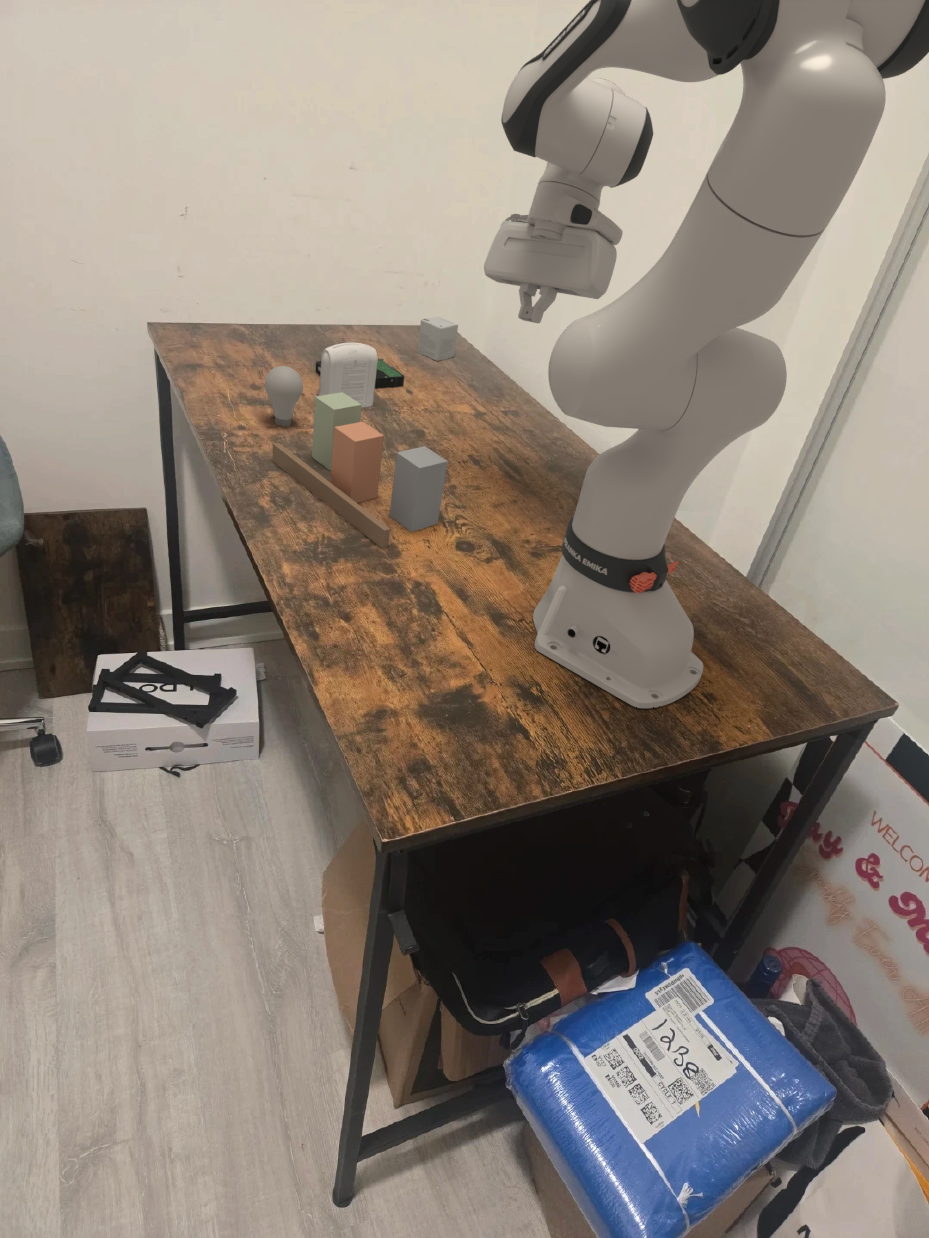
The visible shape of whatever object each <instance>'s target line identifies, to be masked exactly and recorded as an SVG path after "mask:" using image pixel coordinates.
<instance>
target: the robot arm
mask: <svg viewBox="0 0 929 1238" xmlns="http://www.w3.org/2000/svg"><path fill="white" fill-rule="evenodd" d="M928 54H929V0H589V1H588V2H587V3H586V4H585V5H584V6H583V7H581V10H579V12H578V13H577V14H576V15H575V16H573V18H572V19H571V20H570V21H569V23H567V25H566V26H565V27H564V28H563V29H562V30H561V31H560V32H559V33H558V35H557V36H556V37H555V38H554V39H553V40H552V41H550V43H549V44H548V45H547V46H546V47H545V48H544V49H543V50H542V51H541V52H540V53H539V54H538V55H536V56H534V57H532V58H531V59H530V60H528V61H527V62H526V63H524V64H523V66H522V67H520V69H519V71H518V72H517V74H516V75H515V76H514V78H513V80H512V81H511V83H510V85H509V87H508V90H507V93H506V94H505V98H504V102H503V107H502V114H501V120H500V121H501V125H502V128H503V131H504V134H505V135H506V138H507V140H508V142H509V145H510V146H511V148H512V150H513V152H517V153H519V154H520V153H521V154H523V155H527V156H530V157H531V158H538V159H540V160H542V161H545V162H546V166H545V170H544V172H543V174H542V176H541V177H540V179H539V181H538V183H537V186H536V189H535V192H534V195H533V199H532V203H531V206H530V208H529V212H528V214H520V213H511V215H510V216H509V217H507V218H506V219H504V220H503V221H502V222H501V224H500V227H499V229H498V231H497V233H496V235H495V236H494V238H493V241H492V243H491V245H490V248H489V250H488V252H487V256H486V258H485V261H484V264H483V270H484V275H485V276H486V277H487V278H489V279H490V280H493V281H495V282H497V283H500V284H504V285H505V284H506V285H512V286H518V287H519V289H518V295H519V302H520V307H519V308H520V309H519V311H518V314H517V315H518V319H520V320H521V321H524V322H529V323H535V324H540V323H542V319H543V316H544V313H545V312H546V311H547V310H548V309H549V307H551V305H552V304H553V303H555V301H556V298H557V295H558V293H559V294H564V295H570V296H576V297H583V298H588V299H593V300H599V299H600V298H601V297H603V296H604V295H605V294H606V292H607V291H608V288H609V286H610V282H611V281H612V277H613V273H614V269H615V265H616V263H617V257H618V256H617V255H618V254H617V252H618V251H617V248H616V246H617V245H619V243H620V242H621V241H622V238H623V230H622V228H620V226H618V225H617V224H616V223H615V222H614V220H612V219H611V218H610V217H607V215H606V214H604V213H602V212H601V211H600V210H599V208H600V204H601V196H602V195H601V194H602V191H603V188H604V187H608V188H611V189H612V188H616V187H619V186H621V185H624V184H626V183H628V182H630V181H633V180H634V179H636V178H637V177H638V176H639V174H640V173H641V171H642V169H643V167H644V163H645V161H646V158H647V156H648V153H649V149H650V147H651V144H652V140H653V137H654V128H653V122H652V118H651V115H650V112H649V109H648V108H647V107H646V106H645V105H644V104H643V103H641V102H640V101H638V100H636V99H634V98H633V97H631V96H629V95H626V93H625V92H624V90H623V89H622V88H621V87H620V86H618V85H617V84H616V83H615V82H613V81H612V80H611V81H610V80H608V79H605V78H599V77H590V78H589V76H590V75H591V74H592V73H594V72H596V71H597V70H600V69H606V68H615V69H616V68H618V69H626V70H627V69H628V70H631V71H638V72H642V73H646V74H649V75H653V76H656V77H661V78H664V79H667V80H672V81H675V82H676V81H677V82H682V83H699V82H700V83H701V82H704V81H707V80H708V81H709V80H711V79H713V78H716V77H718V76H722V75H725V74H727V73H729V72H731V71H733V70H734V69H735V68H737V66H738V65H740V67H741V71H742V78H743V79H742V83H743V86H742V88H743V89H742V94H741V95H742V96H741V99H740V104H739V107H738V110H737V113H736V114H735V117H734V118H733V121H732V124H731V126H730V127H729V130H728V131H727V133H726V135H725V137H724V139H723V140H722V142H721V144H720V147H719V148H718V150H717V152H716V154H715V156H714V158H713V160H712V162H711V163H710V166H709V168H708V170H707V173H706V174H705V177H704V178H703V180H702V183H701V185H700V187H699V189H698V190H697V192H696V195H695V196H694V198H693V201H692V203H691V205H690V207H689V208H688V211H687V212H686V215H685V217H683V220H682V222H681V223H680V226H679V228H678V229H677V231H676V233H675V234H674V236H673V238H672V240H671V242H670V244H669V245H668V246H667V248H666V249H665V251H664V253H663V254H662V255H661V257H659V259H658V260H657V262H656V263H655V264H654V265H652V267H651V268H650V270H648V272H647V273H645V274H644V275H643V276H642V277H641V278H640V280H638V282H636V283H635V284H634V285H633V286H631V287H630V288H629V289H628V290H627V291H626V292H624V293H623V294H622V295H620V296H619V297H618V298H616V299H614V300H613V301H612V302H610V303H608V304H607V305H605V306H604V307H601V309H598V310H596V311H594V312H592V313H590V314H588V315H585V316H583V317H580V318H578V319H575V320H573V321H572V322H571V323H570V324H569V325H568V326H567V327H565V329H564V330H563V331H562V333H561V334H560V335H559V336H558V338H557V340H556V342H555V343H554V346H553V348H552V351H551V354H550V357H549V358H550V359H549V362H548V369H547V370H548V371H547V372H548V376H547V377H548V384H549V388H550V392H551V395H552V397H553V400H554V402H555V404H556V405H557V406H558V409H560V411H561V412H562V413H563V414H564V415H565V416H568V417H570V418H575V419H578V420H581V421H583V422H587V423H590V424H594V425H597V426H602V427H606V428H619V429H620V428H621V429H635V430H636V429H637V430H636V431H635V432H633V434H632V435H631V436H630V437H628V438H627V439H625V440H624V441H622V442H620V443H618V444H616V445H614V446H613V447H610V448H608V449H606V450H604V451H603V452H601V453H600V454H599V455H597V457H595V458H594V459H593V461H592V462H591V464H590V465H588V468H587V470H586V472H585V475H584V476H585V477H584V479H583V483H582V486H581V491H580V494H579V497H578V500H577V504H576V508H575V510H574V511H575V512H574V515H573V516H572V517H571V518H570V519H569V521H568V524H567V526H566V529H565V534H564V536H563V541H562V542H561V547H560V548H561V557H560V559H559V563H558V564H557V568H556V570H555V572H554V574H553V577H552V579H551V581H550V584H549V586H548V588H547V589H546V591H545V593H544V594H543V596H542V598H541V600H540V601H539V602H538V604H537V605H536V606H535V608H534V611H533V615H532V618H533V619H532V620H533V624H534V627H535V631H536V637H535V641H534V648H535V650H536V651H537V652H539V653H541V654H542V655H544V656H546V657H547V658H549V659H551V660H553V662H556V663H558V664H560V665H561V666H562V667H565V668H566V669H568V670H570V671H571V672H573V673H575V674H576V675H578V676H580V677H582V678H583V679H585V680H587V681H589V682H590V683H592V684H593V685H595V686H597V687H599V688H601V689H602V690H604V691H606V692H608V693H610V694H611V695H612V696H614V697H616V698H618V699H620V700H622V701H623V702H625V703H627V704H629V705H630V706H632V707H634V708H636V707H637V709H653V707H654V708H659V706H660V707H664V706H667V705H669V704H672V703H674V702H675V701H677V700H679V699H682V698H683V697H684V696H686V695H687V694H689V693H690V692H692V690H693V689H695V688H696V686H697V685H698V684H699V682H700V680H701V677H702V675H703V672H704V663H703V661H702V660H701V659H700V658H699V657H698V656H697V655H696V654H695V653H693V652H692V648H693V644H694V636H695V632H694V626H693V625H694V624H693V623H692V621H691V620H690V618H689V616H688V614H687V613H686V612H685V610H684V608H683V606H682V605H681V603H680V602H679V599H678V598H677V596H676V594H675V593H674V591H673V589H672V587H671V585H670V584H669V582H668V581H667V575H669V574H671V573H673V572H674V571H676V570H677V565H678V564H679V563H680V562H679V560H675V561H674V562H671V563H669V564H667V554H666V544H665V542H666V540H667V537H668V534H669V532H670V529H671V527H672V525H673V522H674V519H675V517H676V515H677V512H678V510H679V508H680V506H681V503H682V501H683V499H684V497H685V495H686V493H687V492H688V491H689V488H690V487H691V485H692V484H693V482H694V481H695V480H696V478H697V477H698V476H699V475H700V473H701V472H702V471H703V470H704V469H705V468H706V467H707V466H708V465H709V464H710V462H712V461H713V459H714V458H715V457H716V456H718V455H719V454H720V453H721V452H722V451H723V450H724V449H725V448H726V447H728V446H729V445H730V444H731V443H733V442H734V441H736V440H738V439H739V438H740V437H741V436H743V435H745V434H747V433H748V432H751V431H753V430H756V429H757V428H759V427H761V426H762V425H764V424H765V423H766V422H767V421H768V420H769V419H770V418H771V417H772V416H773V415H774V413H775V412H776V411H777V409H778V407H779V406H780V403H781V402H782V399H783V396H784V394H785V390H786V385H787V377H788V376H787V374H788V373H787V366H786V360H785V357H784V355H783V352H782V351H781V349H780V347H779V346H778V344H777V343H776V342H775V341H773V340H771V339H769V338H767V337H764V336H762V335H758V334H757V333H753V332H751V331H748V330H745V329H742V328H739V327H740V326H743V325H746V324H749V323H751V322H753V321H755V320H757V319H758V318H760V317H763V316H764V315H765V314H767V313H768V312H769V311H770V310H771V309H773V308H774V307H775V306H776V305H777V304H778V302H779V301H780V300H781V299H782V298H783V296H784V294H785V293H786V292H787V289H788V288H789V286H790V285H791V284H792V281H793V280H794V279H795V278H796V276H797V274H798V272H799V270H800V269H801V267H802V266H803V265H804V264H805V261H806V260H807V258H808V256H809V255H810V254H811V252H812V250H813V249H814V247H815V246H816V244H817V242H818V241H819V240H820V238H821V236H822V235H823V233H824V232H825V230H826V228H827V226H828V225H829V223H830V222H831V220H832V219H833V217H834V215H835V213H837V211H838V209H839V207H840V205H841V203H842V202H843V201H844V198H845V196H846V194H847V193H848V191H849V190H850V187H851V186H852V183H853V182H854V179H855V177H856V175H857V173H858V172H859V170H860V167H861V166H862V163H863V161H864V159H865V158H866V157H865V156H866V155H867V152H868V151H869V148H870V146H871V145H872V141H873V139H874V136H875V135H876V132H877V129H878V126H879V124H880V122H881V120H882V118H883V114H884V111H885V106H886V93H887V91H886V86H885V83H884V80H885V79H886V80H887V79H890V78H894V77H898V76H900V75H903V74H905V73H906V72H909V70H911V69H913V68H914V67H915V66H916V65H918V64H919V63H920V62H921V61H923V59H924V58H925V57H926V56H927V55H928ZM538 290H539V291H538ZM537 291H538V294H539V295H540V297H539V298H538V300H537V301H536V302H535V304H534V305H533V297H536V295H537Z"/></svg>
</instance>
